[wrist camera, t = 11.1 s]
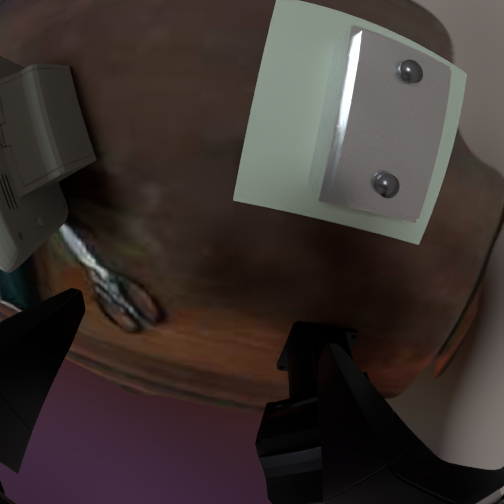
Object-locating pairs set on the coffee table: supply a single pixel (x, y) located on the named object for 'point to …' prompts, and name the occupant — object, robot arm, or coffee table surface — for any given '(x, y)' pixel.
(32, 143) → the digital clock
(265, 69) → the stand
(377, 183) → the block
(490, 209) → the coffee table surface
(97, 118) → the coffee table surface
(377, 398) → the robot arm
